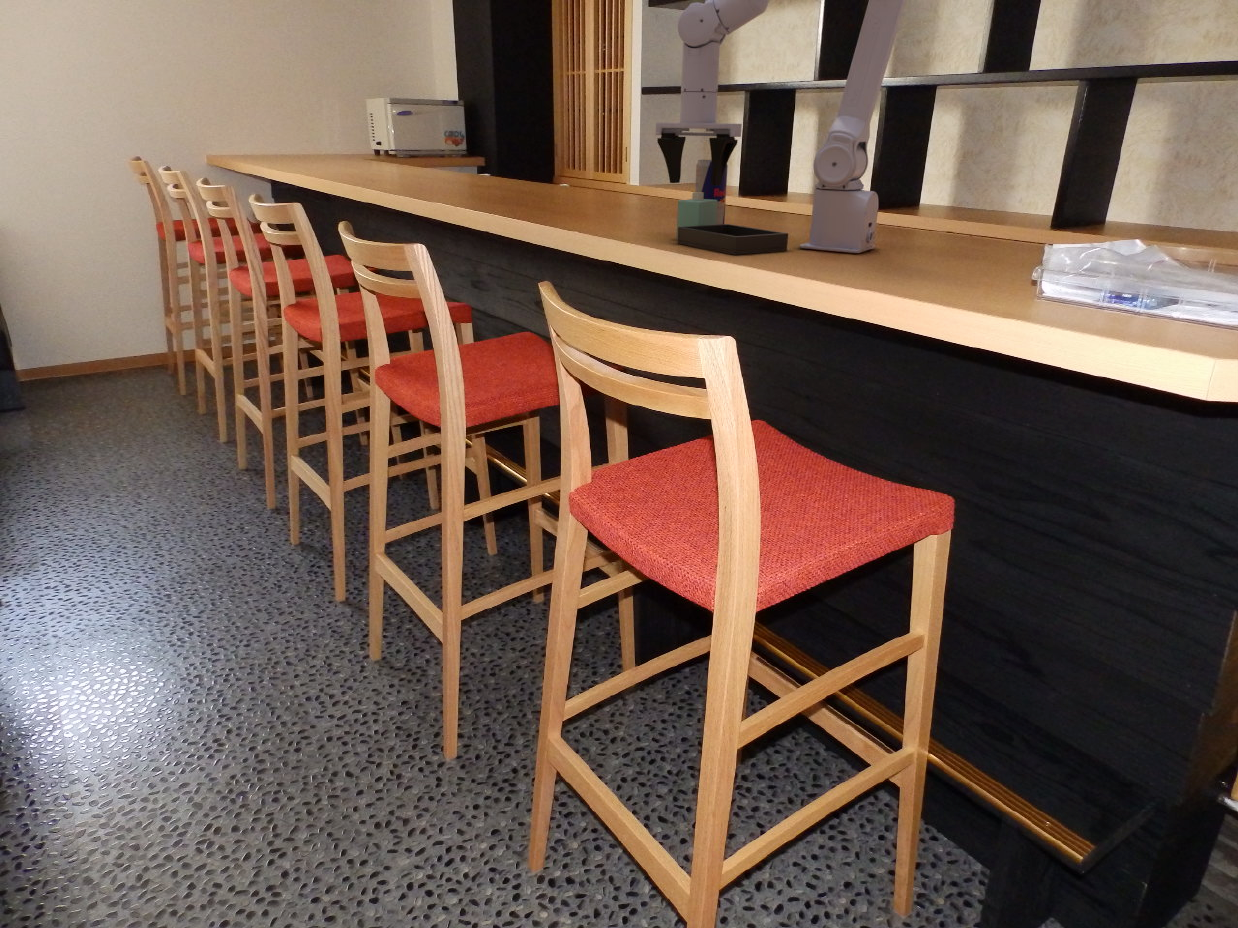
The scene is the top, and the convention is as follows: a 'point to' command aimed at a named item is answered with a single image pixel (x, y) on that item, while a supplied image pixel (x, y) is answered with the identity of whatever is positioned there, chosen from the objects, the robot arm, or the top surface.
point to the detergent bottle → (696, 211)
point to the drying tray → (732, 239)
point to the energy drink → (711, 187)
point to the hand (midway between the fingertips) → (695, 184)
